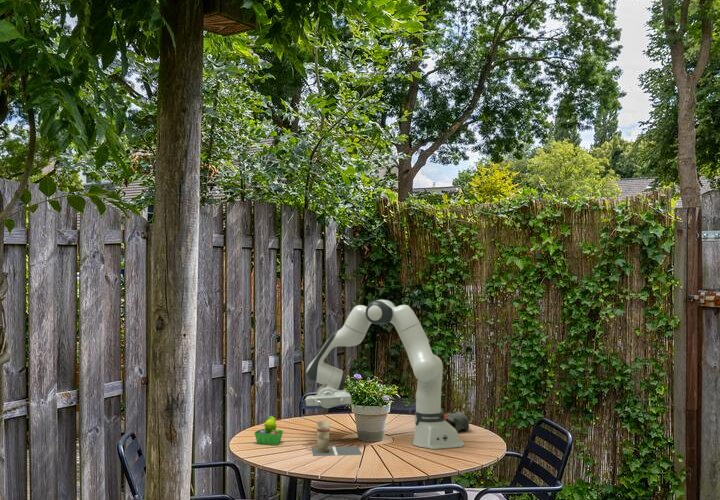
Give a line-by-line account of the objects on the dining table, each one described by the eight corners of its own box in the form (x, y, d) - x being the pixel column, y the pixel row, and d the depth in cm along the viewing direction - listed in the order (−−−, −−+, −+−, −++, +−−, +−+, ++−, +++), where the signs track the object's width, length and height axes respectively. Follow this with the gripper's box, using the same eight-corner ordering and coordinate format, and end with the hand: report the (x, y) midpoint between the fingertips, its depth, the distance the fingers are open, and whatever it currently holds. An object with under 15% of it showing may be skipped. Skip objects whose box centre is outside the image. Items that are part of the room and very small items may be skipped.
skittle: (328, 449, 271) (329, 420, 271) (329, 452, 266) (329, 423, 266) (316, 450, 270) (316, 420, 271) (317, 453, 265) (317, 423, 266)
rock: (436, 426, 324) (436, 410, 325) (458, 425, 327) (458, 409, 327) (448, 434, 306) (448, 417, 307) (471, 433, 309) (471, 416, 309)
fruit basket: (253, 444, 284) (253, 418, 285) (261, 439, 292) (261, 414, 293) (277, 446, 281) (278, 419, 282) (284, 441, 290) (285, 415, 290)
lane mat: (358, 448, 277) (358, 446, 277) (362, 457, 263) (362, 454, 263) (311, 450, 274) (311, 447, 274) (312, 458, 260) (313, 455, 260)
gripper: (304, 392, 292) (305, 396, 278) (349, 389, 295) (352, 394, 281) (304, 406, 292) (305, 411, 278) (349, 403, 294) (353, 408, 281)
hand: (329, 402), depth 280 cm, fingers open, 8 cm apart
